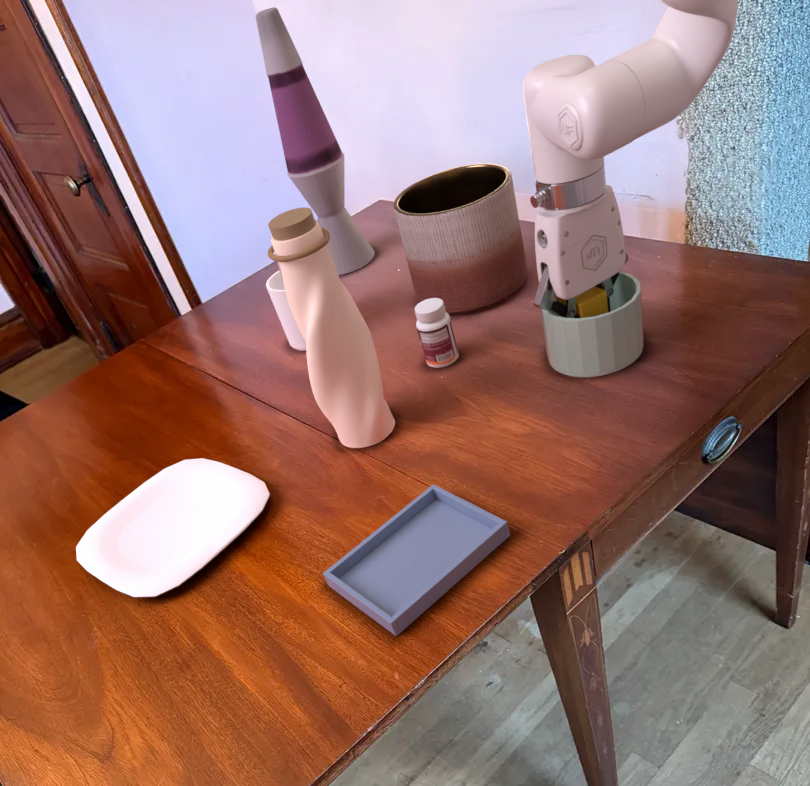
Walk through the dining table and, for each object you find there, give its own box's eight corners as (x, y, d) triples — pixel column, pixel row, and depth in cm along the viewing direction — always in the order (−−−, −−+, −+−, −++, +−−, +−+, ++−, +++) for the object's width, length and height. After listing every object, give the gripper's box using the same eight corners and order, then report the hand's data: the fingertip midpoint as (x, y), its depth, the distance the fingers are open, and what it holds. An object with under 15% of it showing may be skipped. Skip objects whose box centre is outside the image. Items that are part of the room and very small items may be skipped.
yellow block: (589, 325, 98) (584, 282, 94) (610, 334, 95) (606, 290, 91) (565, 339, 97) (559, 296, 93) (586, 348, 94) (581, 304, 90)
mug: (331, 351, 116) (309, 289, 109) (279, 352, 120) (254, 293, 113) (364, 308, 123) (345, 249, 116) (313, 311, 128) (292, 254, 121)
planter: (512, 251, 124) (496, 152, 114) (542, 294, 111) (526, 187, 100) (410, 284, 125) (385, 188, 115) (427, 331, 112) (400, 228, 102)
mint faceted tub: (643, 321, 99) (641, 264, 93) (643, 372, 91) (640, 312, 85) (552, 332, 103) (544, 277, 97) (544, 381, 95) (535, 325, 89)
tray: (437, 497, 84) (433, 483, 83) (510, 535, 77) (507, 521, 75) (328, 586, 78) (322, 573, 77) (396, 636, 71) (390, 623, 70)
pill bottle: (434, 349, 108) (420, 296, 102) (464, 350, 105) (451, 295, 100) (420, 368, 105) (405, 314, 99) (451, 369, 103) (437, 314, 97)
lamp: (318, 281, 136) (227, 28, 110) (321, 257, 144) (237, 15, 117) (374, 266, 134) (296, 5, 108) (375, 243, 142) (302, -7, 116)
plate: (63, 559, 94) (56, 550, 93) (191, 457, 104) (186, 447, 103) (157, 621, 81) (150, 611, 80) (293, 497, 91) (288, 487, 90)
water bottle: (314, 436, 100) (227, 231, 81) (363, 400, 103) (290, 195, 84) (362, 460, 93) (279, 242, 74) (412, 420, 96) (345, 203, 78)
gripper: (532, 224, 79) (555, 373, 91) (652, 161, 82) (658, 311, 94) (491, 212, 84) (517, 354, 96) (605, 153, 88) (616, 297, 100)
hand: (587, 331), depth 95 cm, fingers closed on yellow block, 4 cm apart
